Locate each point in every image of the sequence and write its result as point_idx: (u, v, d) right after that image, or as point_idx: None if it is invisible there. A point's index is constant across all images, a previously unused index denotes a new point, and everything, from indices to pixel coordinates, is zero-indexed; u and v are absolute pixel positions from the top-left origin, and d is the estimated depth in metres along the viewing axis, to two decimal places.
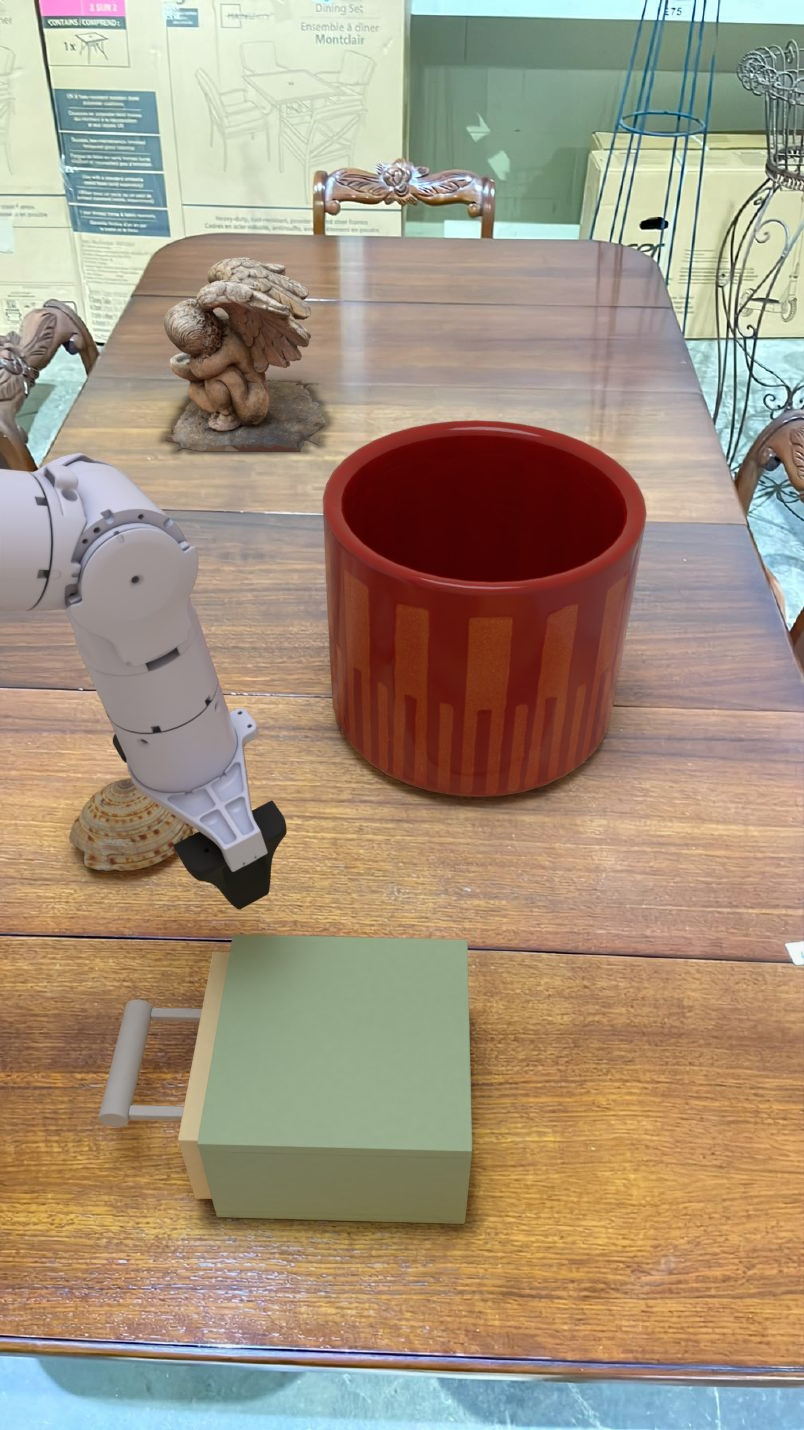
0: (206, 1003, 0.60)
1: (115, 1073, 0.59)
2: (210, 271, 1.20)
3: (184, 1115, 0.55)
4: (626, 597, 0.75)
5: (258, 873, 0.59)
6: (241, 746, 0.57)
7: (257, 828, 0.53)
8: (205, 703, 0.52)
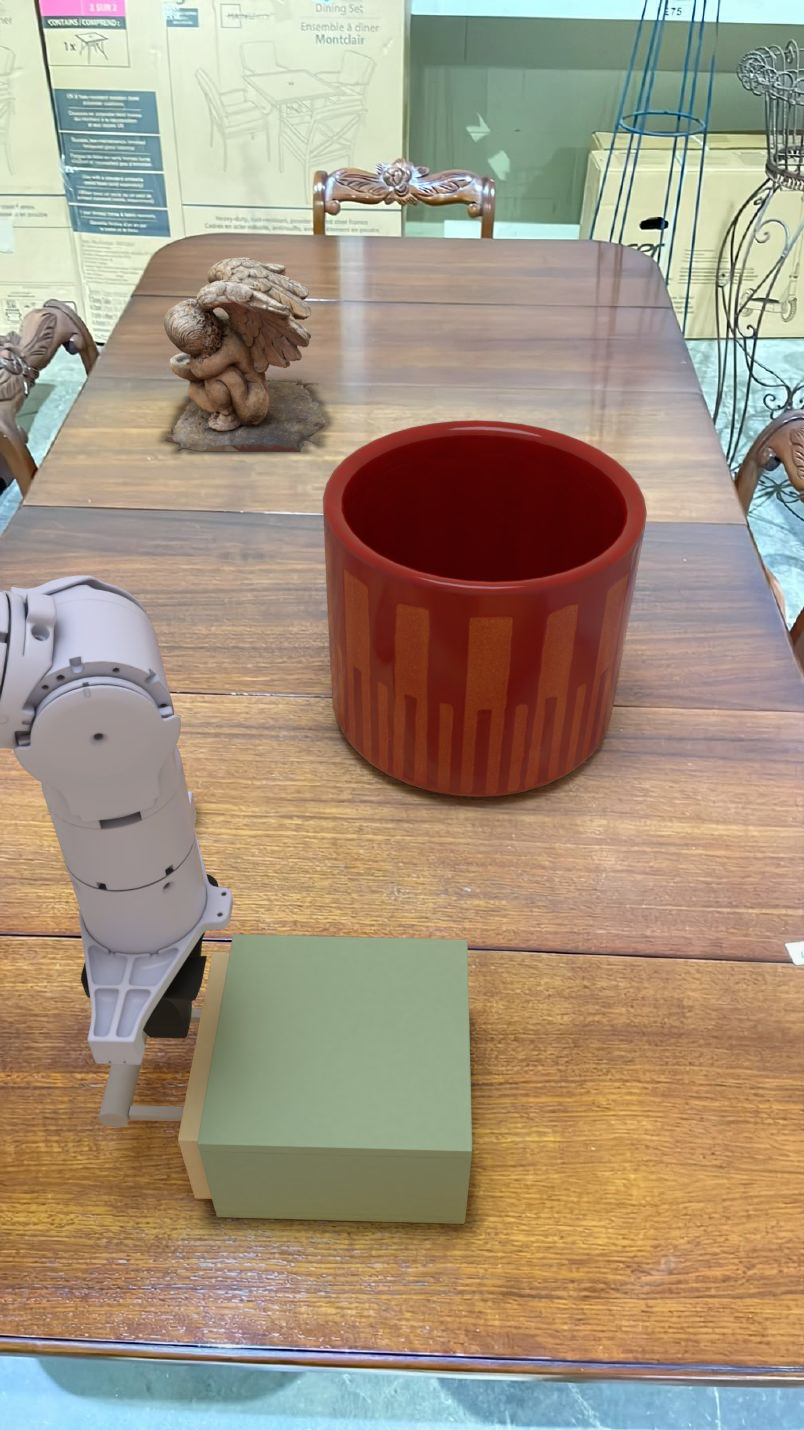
0: (206, 1003, 0.60)
1: (115, 1073, 0.59)
2: (210, 271, 1.20)
3: (184, 1115, 0.55)
4: (626, 597, 0.75)
5: (174, 1015, 0.54)
6: (195, 932, 0.49)
7: (133, 1037, 0.45)
8: (165, 872, 0.46)
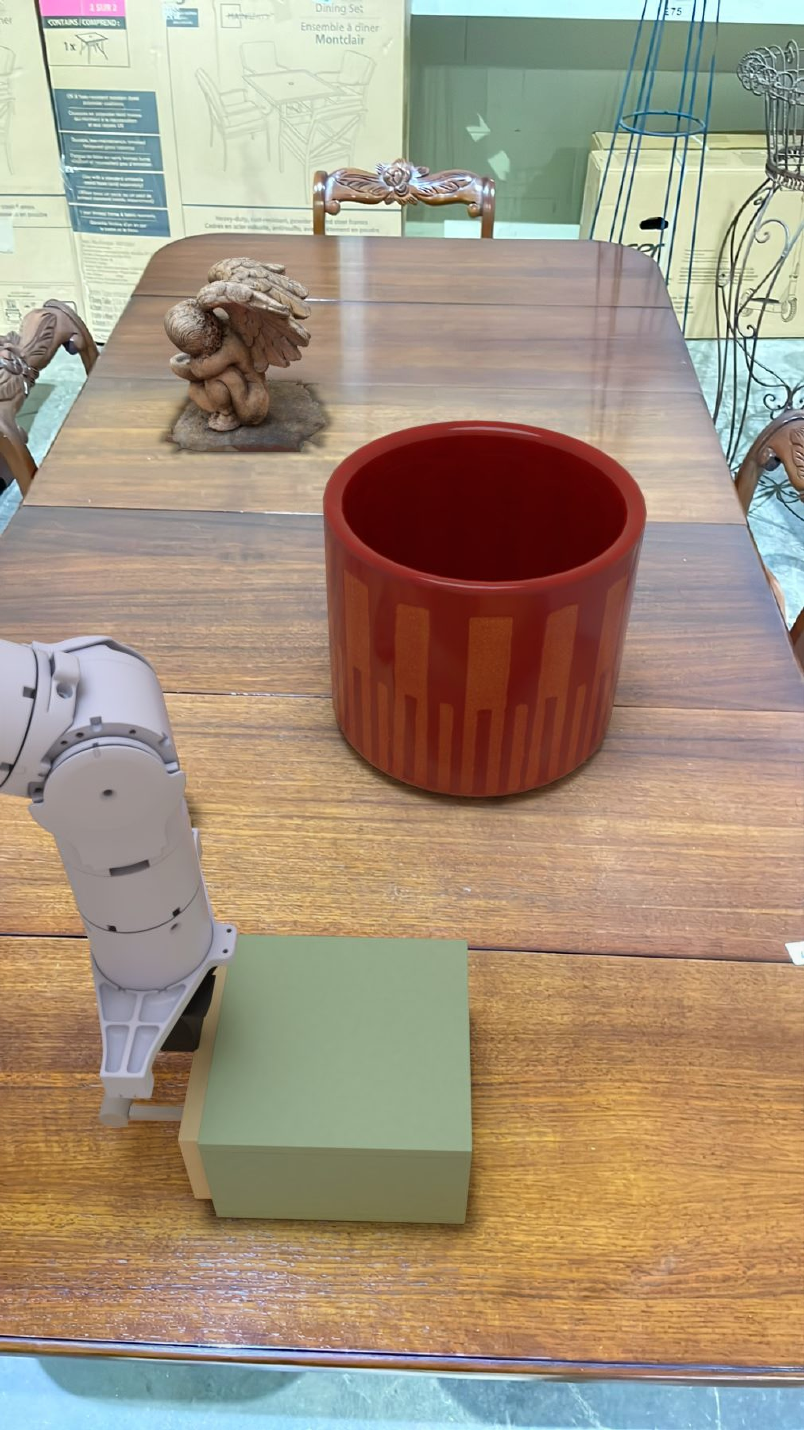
0: None
1: None
2: (210, 271, 1.20)
3: (184, 1115, 0.55)
4: (626, 597, 0.75)
5: (185, 1031, 0.56)
6: (202, 969, 0.51)
7: (143, 1072, 0.47)
8: (172, 914, 0.48)
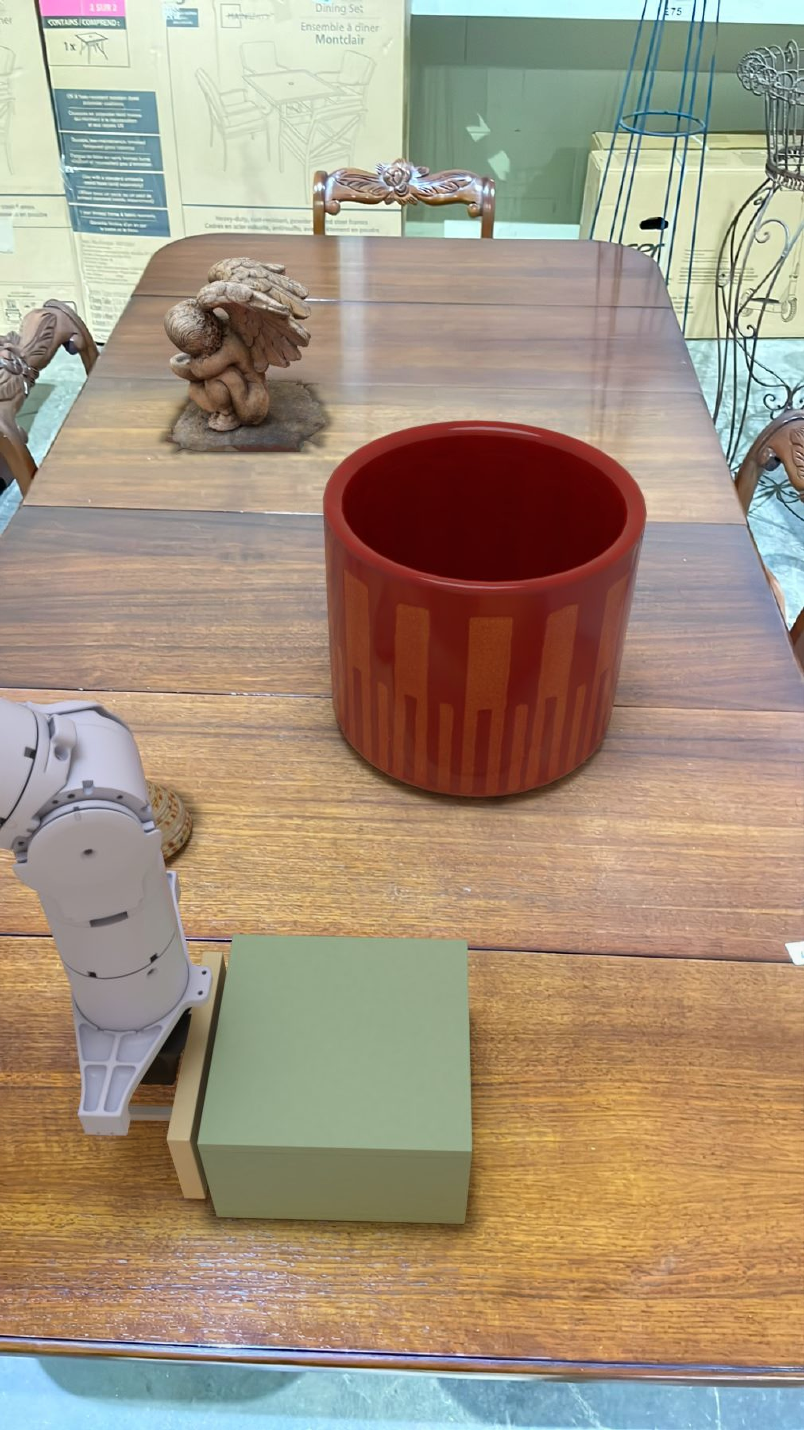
0: None
1: None
2: (210, 271, 1.20)
3: (173, 1115, 0.55)
4: (626, 597, 0.75)
5: (162, 1065, 0.59)
6: (177, 1010, 0.54)
7: (119, 1111, 0.50)
8: (150, 959, 0.50)
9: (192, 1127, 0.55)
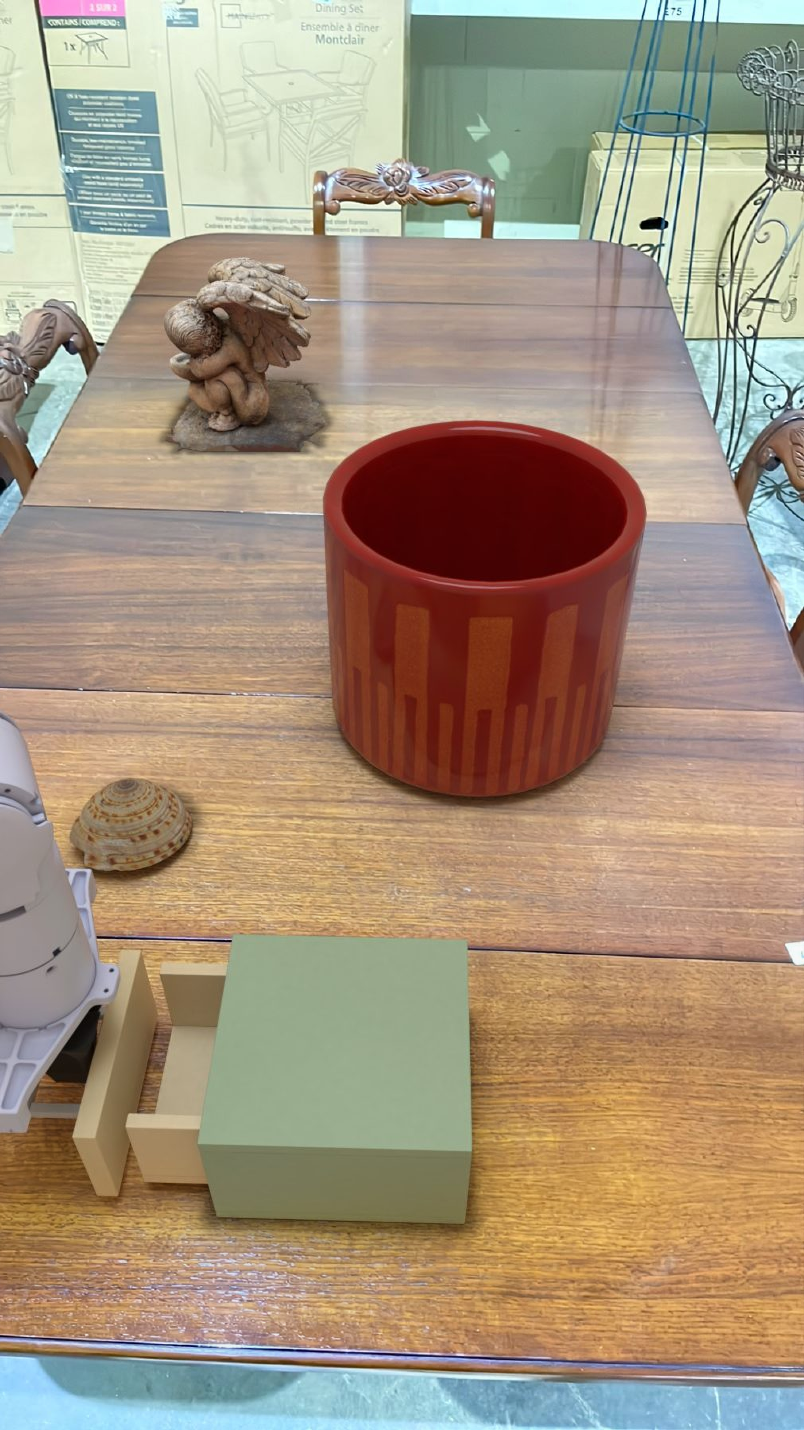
0: None
1: None
2: (210, 271, 1.20)
3: (80, 1112, 0.55)
4: (626, 597, 0.75)
5: (75, 1063, 0.59)
6: (82, 1008, 0.54)
7: (16, 1109, 0.50)
8: (53, 954, 0.51)
9: (99, 1124, 0.55)
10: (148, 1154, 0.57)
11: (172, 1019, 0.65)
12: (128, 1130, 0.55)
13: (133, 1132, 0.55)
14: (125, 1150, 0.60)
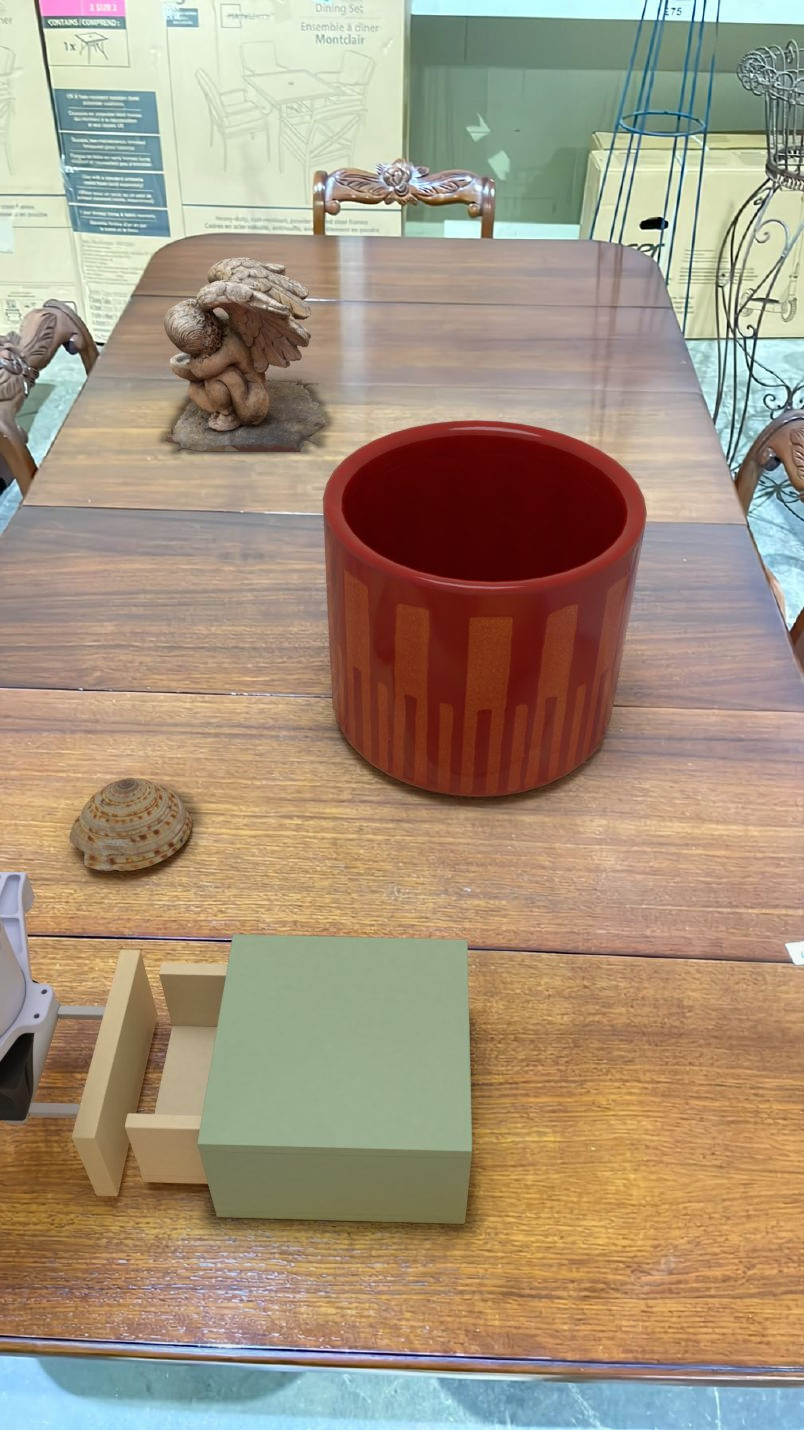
0: (110, 1001, 0.60)
1: None
2: (210, 271, 1.20)
3: (79, 1112, 0.55)
4: (626, 597, 0.75)
5: (7, 1099, 0.51)
6: (7, 1037, 0.45)
7: None
8: None
9: (98, 1124, 0.55)
10: (148, 1154, 0.57)
11: (172, 1019, 0.65)
12: (128, 1130, 0.55)
13: (132, 1132, 0.55)
14: (124, 1150, 0.60)
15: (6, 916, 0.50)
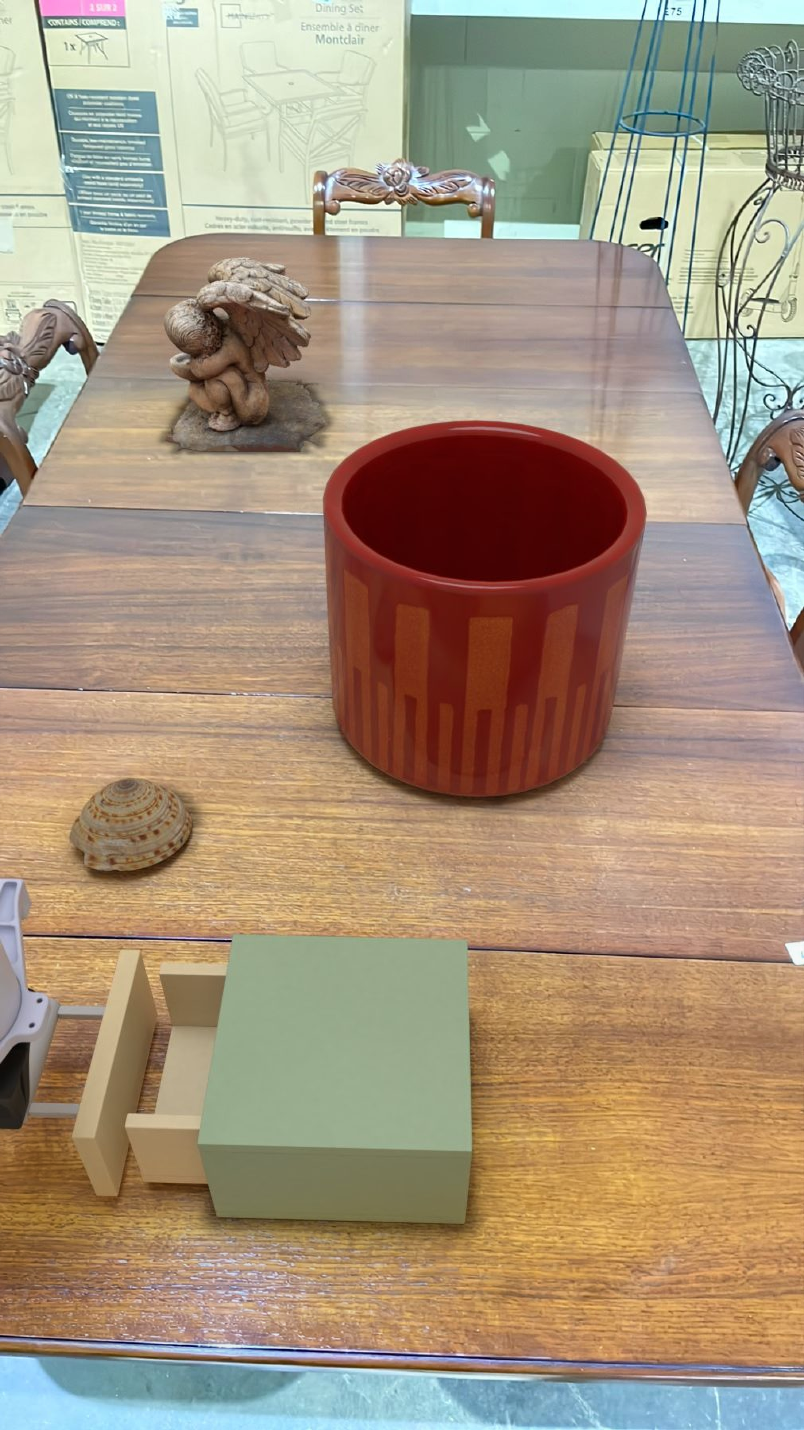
0: (110, 1001, 0.60)
1: None
2: (210, 271, 1.20)
3: (79, 1112, 0.55)
4: (626, 597, 0.75)
5: (2, 1108, 0.50)
6: (2, 1046, 0.45)
7: None
8: None
9: (98, 1124, 0.55)
10: (148, 1154, 0.57)
11: (172, 1019, 0.65)
12: (128, 1130, 0.55)
13: (132, 1132, 0.55)
14: (124, 1150, 0.60)
15: (2, 924, 0.50)
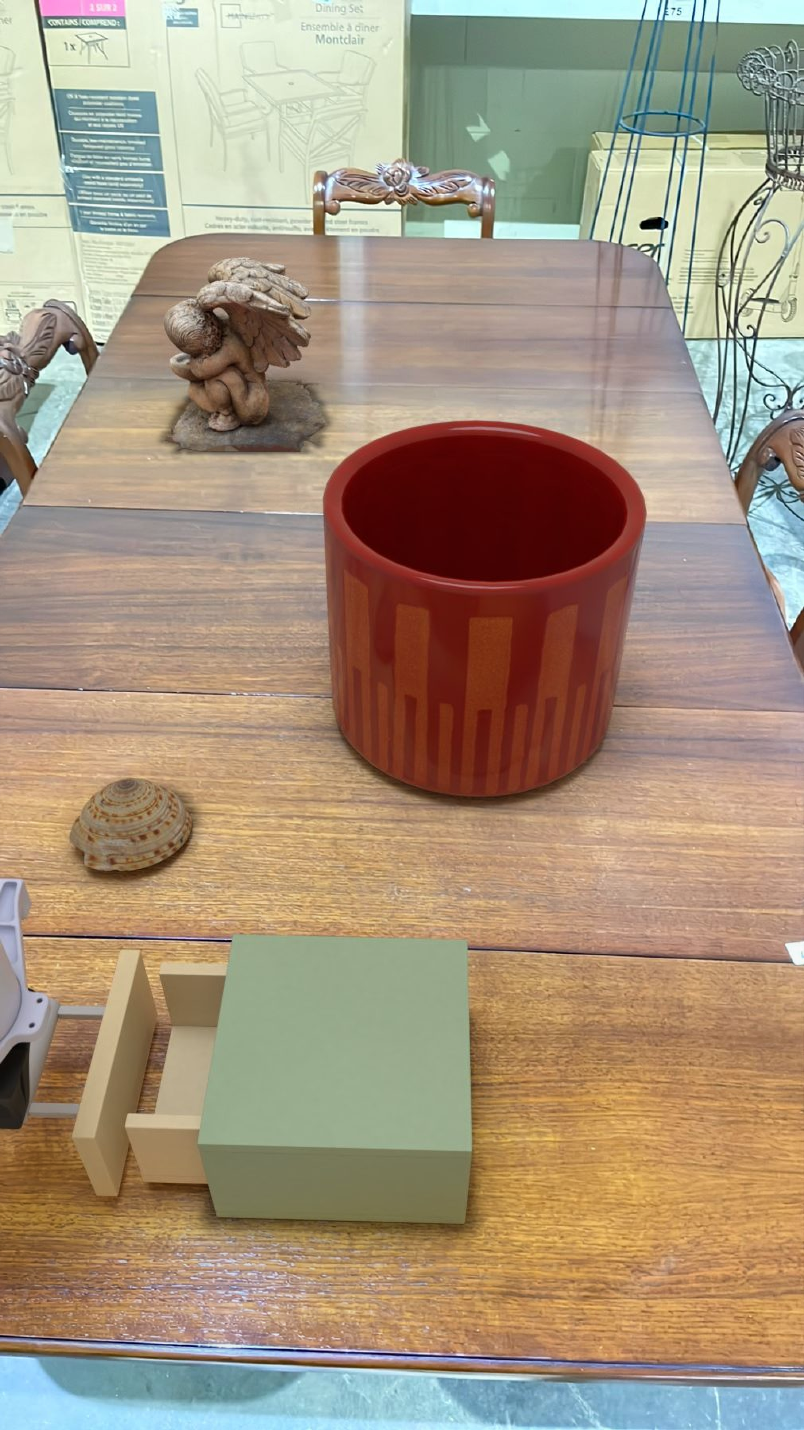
0: (110, 1001, 0.60)
1: None
2: (210, 271, 1.20)
3: (79, 1112, 0.55)
4: (626, 597, 0.75)
5: (2, 1108, 0.50)
6: (2, 1046, 0.45)
7: None
8: None
9: (98, 1124, 0.55)
10: (148, 1154, 0.57)
11: (172, 1019, 0.65)
12: (128, 1130, 0.55)
13: (132, 1132, 0.55)
14: (124, 1150, 0.60)
15: (2, 924, 0.50)
